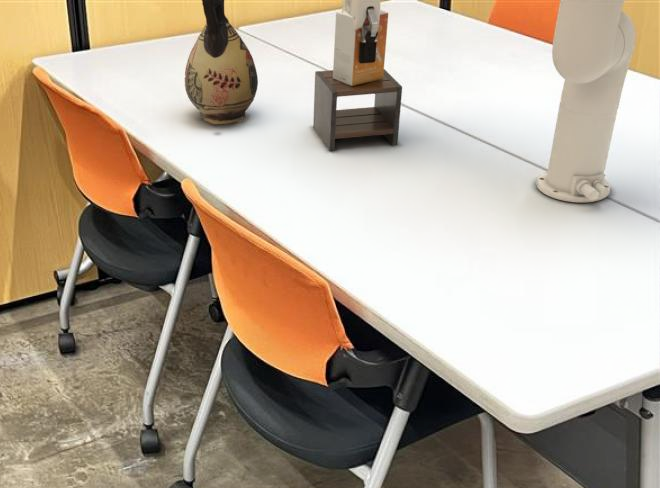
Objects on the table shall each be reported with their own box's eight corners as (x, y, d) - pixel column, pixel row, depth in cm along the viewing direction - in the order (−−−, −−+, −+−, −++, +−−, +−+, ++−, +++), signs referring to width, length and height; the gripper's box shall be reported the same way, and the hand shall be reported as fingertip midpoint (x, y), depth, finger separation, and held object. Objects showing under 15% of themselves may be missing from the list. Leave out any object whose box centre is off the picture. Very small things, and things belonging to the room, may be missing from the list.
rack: (397, 145, 196) (402, 86, 190) (329, 151, 194) (332, 92, 188) (377, 122, 207) (381, 66, 200) (313, 127, 205) (315, 71, 199)
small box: (352, 87, 190) (355, 19, 183) (331, 78, 194) (334, 11, 187) (384, 79, 193) (389, 12, 186) (363, 70, 198) (367, 4, 191)
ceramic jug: (198, 102, 220) (194, -38, 203) (265, 108, 215) (266, -34, 199) (173, 129, 206) (166, -18, 190) (244, 136, 202) (243, -14, 186)
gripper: (332, -46, 189) (329, 43, 198) (358, -25, 174) (353, 70, 184) (370, -48, 190) (364, 41, 199) (399, -28, 175) (392, 67, 185)
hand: (359, 54), depth 191 cm, fingers open, 9 cm apart
